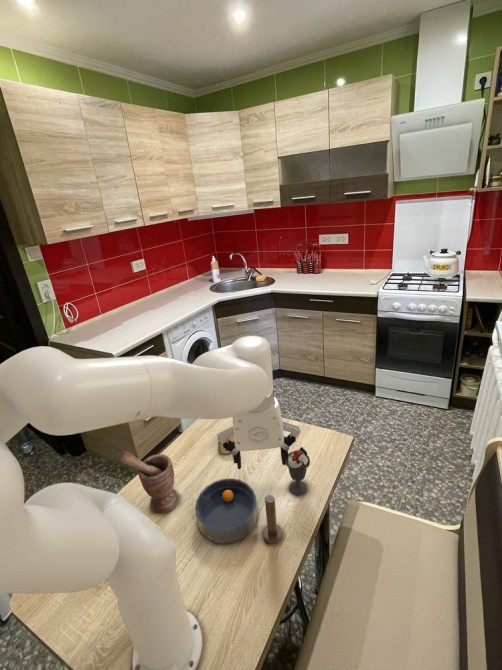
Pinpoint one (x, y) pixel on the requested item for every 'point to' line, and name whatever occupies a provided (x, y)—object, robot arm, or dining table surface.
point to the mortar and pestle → (155, 479)
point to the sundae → (298, 470)
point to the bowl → (226, 511)
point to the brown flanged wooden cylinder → (271, 522)
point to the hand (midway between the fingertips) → (261, 462)
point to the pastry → (222, 449)
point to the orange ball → (227, 495)
